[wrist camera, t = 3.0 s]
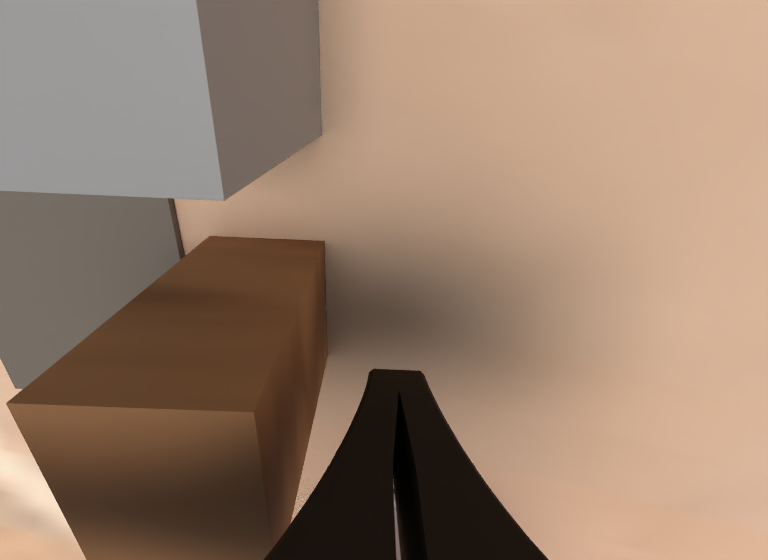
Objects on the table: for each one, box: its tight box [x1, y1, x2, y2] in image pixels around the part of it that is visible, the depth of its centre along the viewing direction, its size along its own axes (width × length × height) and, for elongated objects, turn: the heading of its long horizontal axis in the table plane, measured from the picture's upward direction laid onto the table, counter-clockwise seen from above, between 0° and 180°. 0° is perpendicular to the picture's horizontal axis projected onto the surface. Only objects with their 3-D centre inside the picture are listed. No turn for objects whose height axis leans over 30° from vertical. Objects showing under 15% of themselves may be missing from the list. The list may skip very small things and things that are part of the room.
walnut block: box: [6, 236, 327, 560], centre depth 11 cm, size 5×4×8 cm
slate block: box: [0, 0, 322, 201], centre depth 7 cm, size 5×4×8 cm
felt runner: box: [0, 191, 184, 389], centre depth 12 cm, size 18×8×1 cm, turn 177°
